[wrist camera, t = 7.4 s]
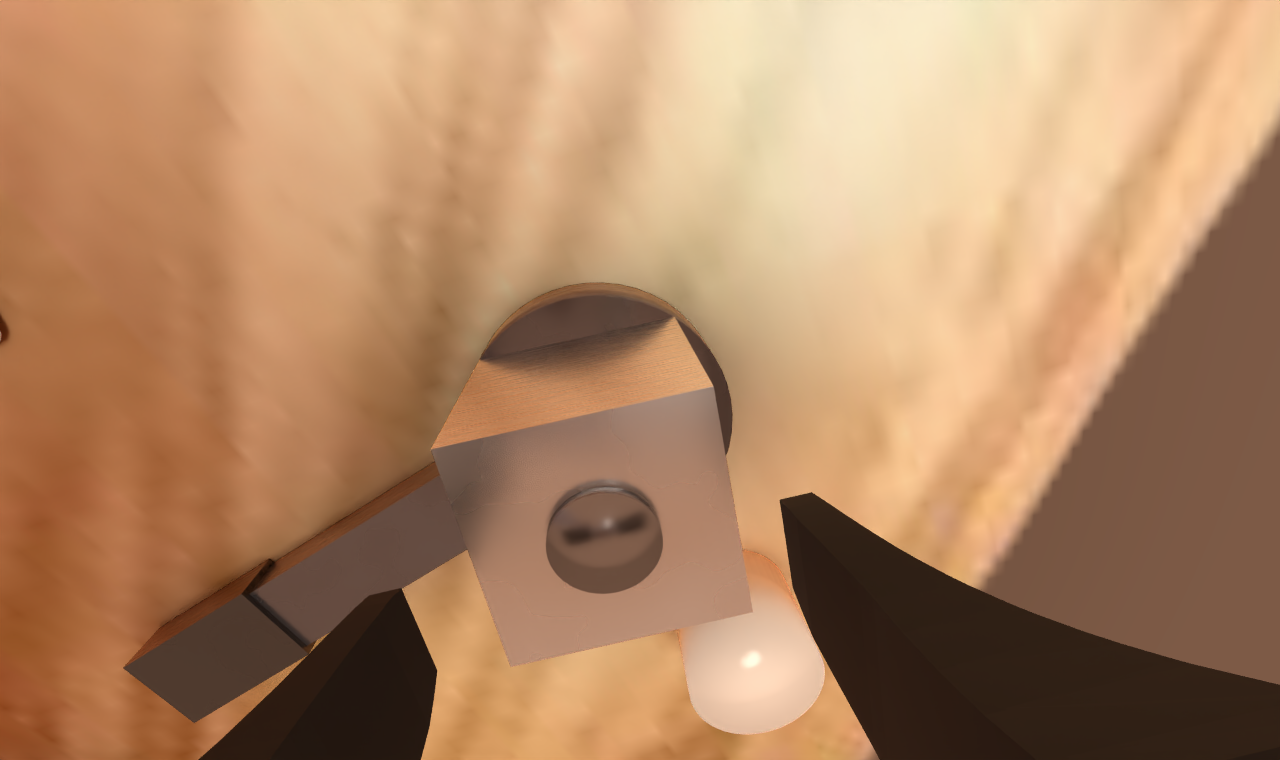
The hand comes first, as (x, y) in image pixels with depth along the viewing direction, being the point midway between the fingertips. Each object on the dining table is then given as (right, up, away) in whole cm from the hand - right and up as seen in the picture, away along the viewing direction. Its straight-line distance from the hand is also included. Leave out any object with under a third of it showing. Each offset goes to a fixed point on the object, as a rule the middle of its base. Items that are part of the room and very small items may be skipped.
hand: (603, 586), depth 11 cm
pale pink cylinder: (+4, -4, +12) cm, 13 cm away
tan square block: (-1, +2, +7) cm, 7 cm away
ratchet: (-7, 0, +9) cm, 11 cm away
